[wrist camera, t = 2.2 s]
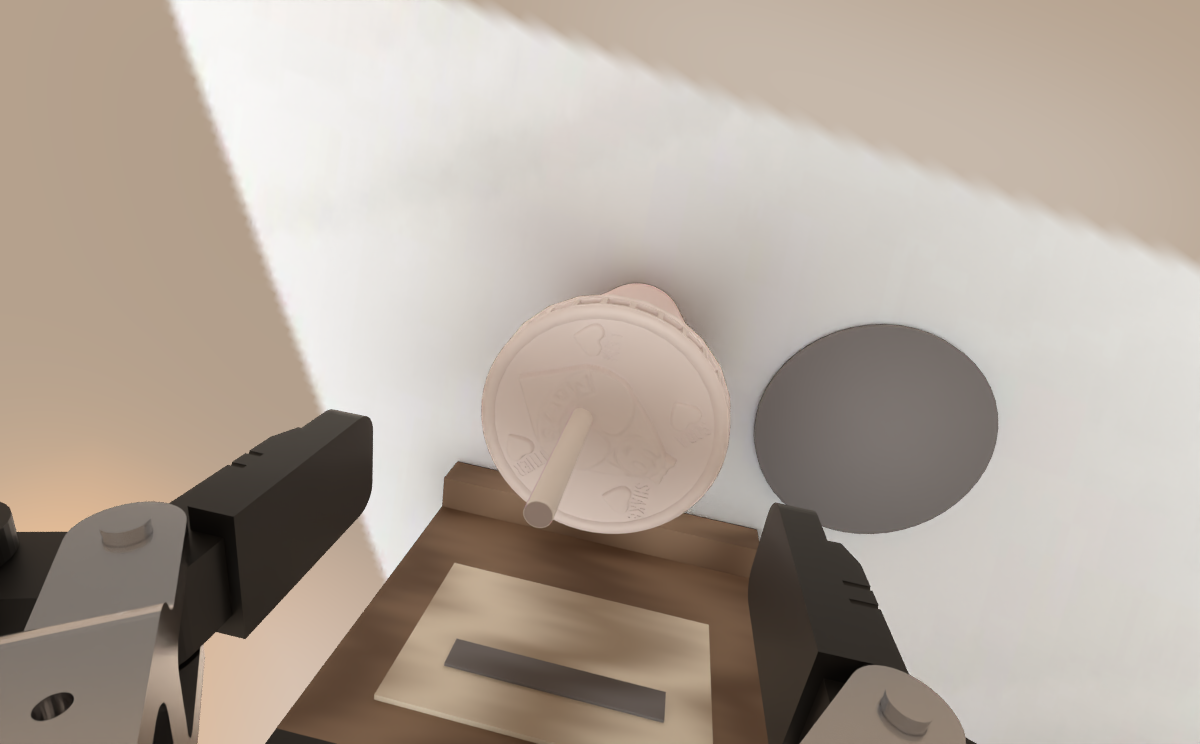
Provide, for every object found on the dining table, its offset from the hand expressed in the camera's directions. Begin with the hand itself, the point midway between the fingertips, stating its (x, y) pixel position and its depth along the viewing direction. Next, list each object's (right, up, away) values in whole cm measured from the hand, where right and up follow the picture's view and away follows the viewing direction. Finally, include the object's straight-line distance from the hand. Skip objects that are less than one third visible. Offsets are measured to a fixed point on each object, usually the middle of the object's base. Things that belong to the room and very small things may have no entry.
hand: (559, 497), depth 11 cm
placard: (+1, -5, +15) cm, 16 cm away
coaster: (+12, 0, +12) cm, 17 cm away
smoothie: (+2, +4, +12) cm, 13 cm away
